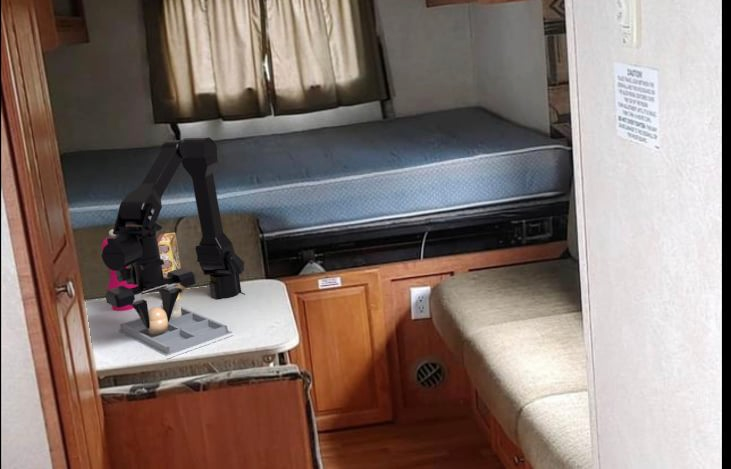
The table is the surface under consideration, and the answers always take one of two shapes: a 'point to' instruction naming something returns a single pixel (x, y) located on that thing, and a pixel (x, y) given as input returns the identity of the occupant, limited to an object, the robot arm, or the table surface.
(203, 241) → the robot arm
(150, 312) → the beige rounded piece
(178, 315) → the cream egg
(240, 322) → the table surface
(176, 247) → the candy box
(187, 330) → the grey compartment tray
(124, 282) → the pepper mill
